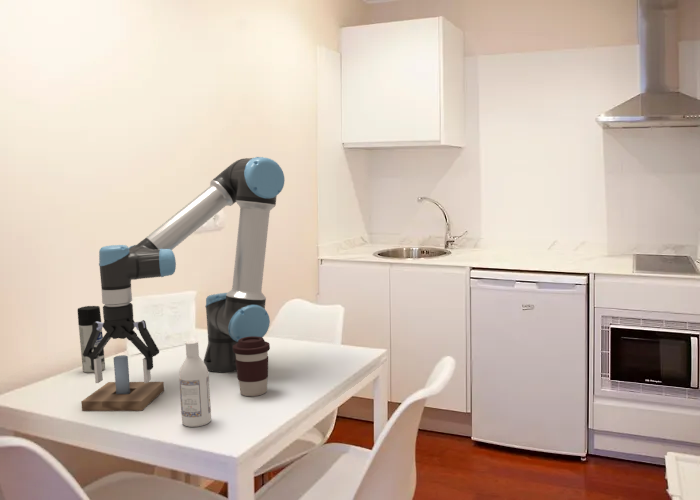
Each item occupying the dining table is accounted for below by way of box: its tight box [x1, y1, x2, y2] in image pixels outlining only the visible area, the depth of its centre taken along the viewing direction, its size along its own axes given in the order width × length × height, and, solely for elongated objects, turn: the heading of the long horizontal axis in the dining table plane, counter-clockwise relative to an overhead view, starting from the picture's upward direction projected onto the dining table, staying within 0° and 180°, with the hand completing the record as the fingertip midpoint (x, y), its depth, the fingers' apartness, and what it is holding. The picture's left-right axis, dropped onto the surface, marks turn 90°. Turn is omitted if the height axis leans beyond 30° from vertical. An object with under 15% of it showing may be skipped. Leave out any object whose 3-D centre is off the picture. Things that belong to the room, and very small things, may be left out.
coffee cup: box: [233, 336, 271, 397], centre depth 185 cm, size 10×10×15 cm
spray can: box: [77, 305, 106, 374], centre depth 211 cm, size 7×7×20 cm
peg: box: [113, 354, 131, 394], centre depth 182 cm, size 4×4×12 cm
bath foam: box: [178, 340, 212, 428], centre depth 164 cm, size 7×7×20 cm
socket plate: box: [80, 381, 165, 412], centre depth 183 cm, size 16×16×2 cm
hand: (123, 381), depth 182 cm, fingers open, 13 cm apart
